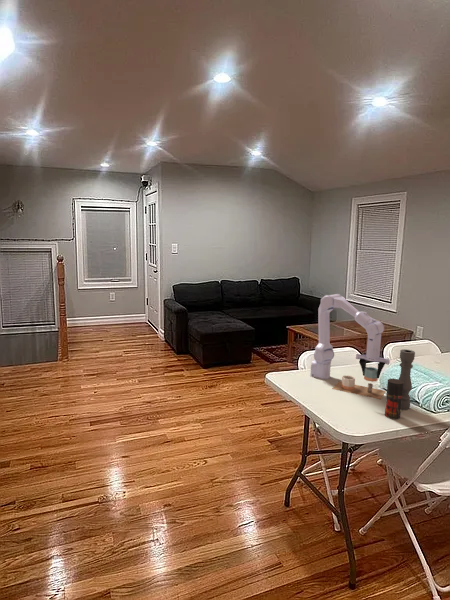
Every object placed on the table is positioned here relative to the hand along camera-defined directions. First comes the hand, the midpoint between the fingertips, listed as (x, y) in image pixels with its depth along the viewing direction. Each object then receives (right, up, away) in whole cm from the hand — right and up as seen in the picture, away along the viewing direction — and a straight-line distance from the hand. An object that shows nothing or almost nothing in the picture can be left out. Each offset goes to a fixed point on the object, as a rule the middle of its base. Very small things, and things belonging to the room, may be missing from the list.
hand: (371, 376), depth 188 cm
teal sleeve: (0, -1, 0) cm, 1 cm away
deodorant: (+1, -13, -20) cm, 24 cm away
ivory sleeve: (-9, -7, +6) cm, 13 cm away
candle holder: (+9, -11, -11) cm, 19 cm away
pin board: (-4, -8, +4) cm, 10 cm away
